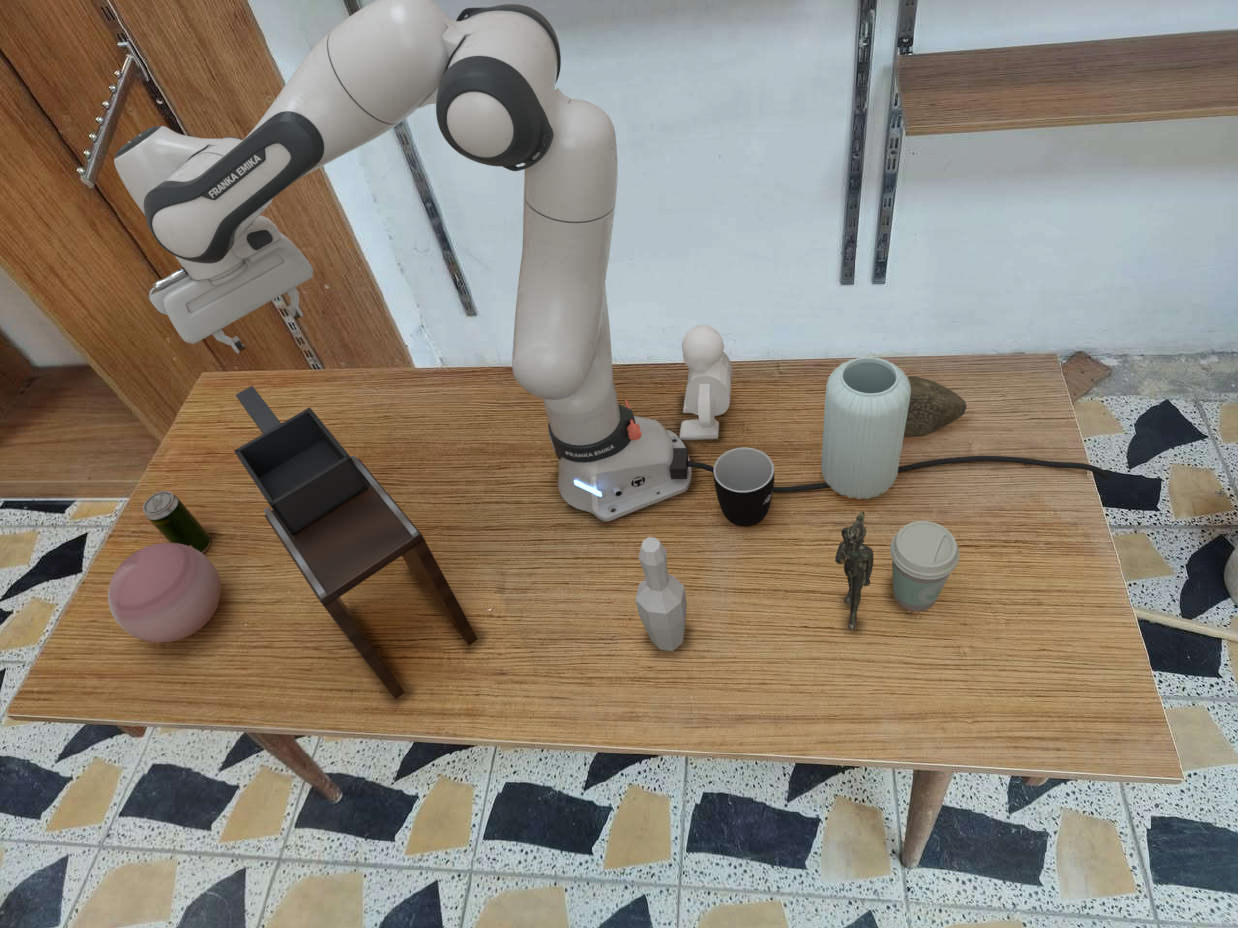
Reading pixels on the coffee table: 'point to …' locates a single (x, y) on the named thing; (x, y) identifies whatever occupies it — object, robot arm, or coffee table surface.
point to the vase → (864, 426)
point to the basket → (297, 464)
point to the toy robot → (705, 382)
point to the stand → (366, 562)
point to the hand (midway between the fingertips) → (270, 333)
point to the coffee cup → (922, 563)
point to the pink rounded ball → (164, 592)
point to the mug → (744, 485)
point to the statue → (855, 564)
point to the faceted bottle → (660, 598)
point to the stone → (931, 407)
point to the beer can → (176, 521)
